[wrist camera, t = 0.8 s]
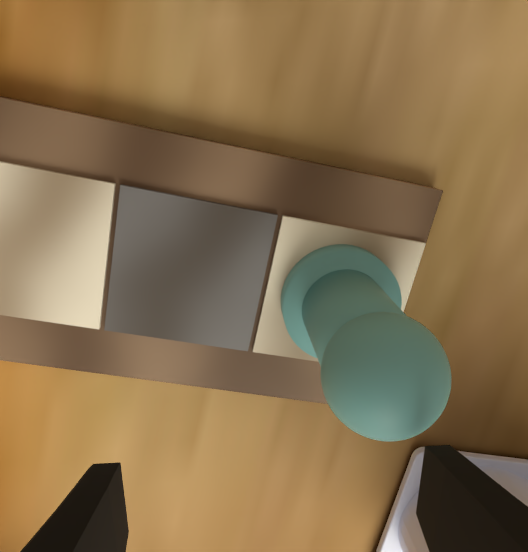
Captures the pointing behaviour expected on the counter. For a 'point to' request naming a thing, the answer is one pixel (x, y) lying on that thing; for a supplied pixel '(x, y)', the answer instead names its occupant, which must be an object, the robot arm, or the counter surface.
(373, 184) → the board
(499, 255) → the counter surface
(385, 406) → the pawn
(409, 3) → the counter surface
